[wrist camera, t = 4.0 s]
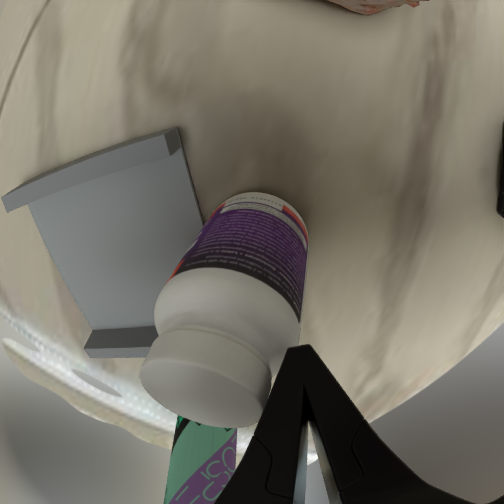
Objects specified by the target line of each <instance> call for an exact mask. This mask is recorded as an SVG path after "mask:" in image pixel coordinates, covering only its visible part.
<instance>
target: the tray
mask: <svg viewBox="0 0 504 504" xmlns="http://www.w3.org/2000/svg"><path fill="white" fill-rule="evenodd" d="M1 199H2V201H3V204H4V206H5V209H6V211H7V213H8V212H10V211H12V210H14V209H17V208H19V207H21V206H24V205H26V204H28V207H29V209H30V211H31V214H32V216H33V219H34V221H35V223H36V225H37V228H38V230H39V232H40V234H41V237H42V239H43V241H44V243H45V245H46V247H47V249H48V251H49V253H50V255H51V257H52V259H53V261H54V263H55V265H56V267H57V269H58V271H59V273H60V275H61V277H62V279H63V280H64V282H65V284H66V286H67V288H68V289H69V291H70V293H71V295H72V296H73V298H74V300H75V302H76V303H77V305H78V307H79V308H80V310H81V312H82V313H83V315H84V317H85V318H86V320H87V321H88V323H89V325H90V326H91V328H92V329H93V331H92V333H91V335H90V337H89V339H88V341H87V343H86V345H85V347H84V350H85V351H86V353H87V354H88V355H89V357H90V358H132V357H146V356H147V355H148V353H149V350H150V348H151V346H152V344H153V342H154V341H155V340H156V339H157V338H158V336H159V335H158V332H157V330H156V327H155V322H154V309H155V304H156V301H157V298H158V296H159V294H160V292H161V290H162V289H163V287H164V285H165V284H166V282H167V281H168V279H169V278H170V276H171V275H172V273H173V272H174V270H175V268H176V267H177V265H178V264H179V262H180V261H181V259H182V258H183V256H184V255H185V253H186V252H187V250H188V249H189V247H190V246H191V244H192V243H193V241H194V240H195V238H196V237H197V235H198V234H199V232H200V231H201V229H202V228H203V226H204V223H203V219H202V216H201V212H200V209H199V205H198V202H197V198H196V195H195V191H194V188H193V184H192V180H191V177H190V173H189V169H188V166H187V162H186V158H185V155H184V151H183V147H182V143H181V139H180V136H179V132H178V128H177V127H174V128H170V129H167V130H163V131H160V132H156V133H153V134H149V135H146V136H143V137H140V138H136V139H133V140H130V141H127V142H124V143H121V144H118V145H115V146H112V147H109V148H107V149H104V150H101V151H98V152H96V153H93V154H90V155H88V156H85V157H82V158H80V159H77V160H75V161H72V162H70V163H67V164H65V165H63V166H60V167H58V168H55V169H53V170H51V171H49V172H46V173H44V174H42V175H40V176H37V177H35V178H33V179H31V180H29V181H27V182H25V183H23V184H21V185H19V186H18V187H16V188H15V189H13V190H12V191H10V192H9V193H7V194H6V195H4V196H3V197H1Z"/></svg>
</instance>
